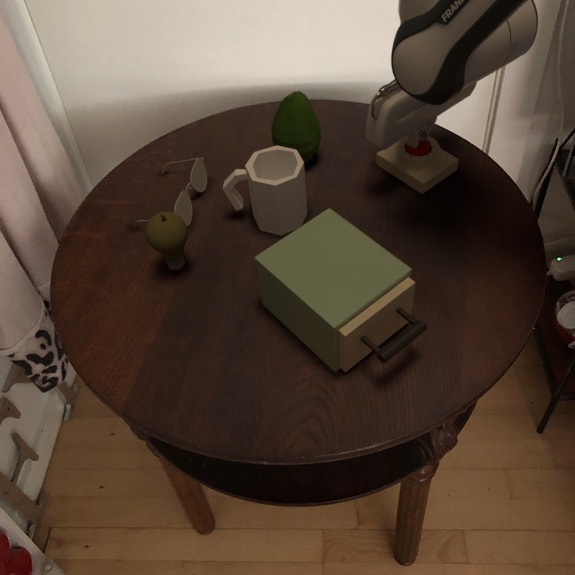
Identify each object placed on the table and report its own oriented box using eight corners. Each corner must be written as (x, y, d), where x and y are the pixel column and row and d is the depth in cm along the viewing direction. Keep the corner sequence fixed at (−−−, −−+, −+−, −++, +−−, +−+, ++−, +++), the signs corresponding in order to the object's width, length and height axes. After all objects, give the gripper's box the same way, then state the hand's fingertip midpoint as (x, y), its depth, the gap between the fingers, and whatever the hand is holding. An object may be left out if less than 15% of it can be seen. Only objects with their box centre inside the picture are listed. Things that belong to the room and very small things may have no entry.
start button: (434, 152, 97) (435, 143, 96) (418, 162, 96) (419, 153, 94) (416, 142, 99) (417, 132, 98) (401, 152, 98) (401, 143, 96)
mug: (307, 194, 97) (303, 143, 90) (307, 234, 92) (304, 184, 84) (231, 198, 98) (221, 148, 91) (227, 238, 93) (216, 188, 85)
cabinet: (406, 316, 81) (412, 268, 74) (335, 373, 77) (334, 328, 69) (330, 256, 89) (329, 207, 82) (262, 304, 84) (253, 257, 77)
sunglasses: (184, 236, 94) (172, 212, 90) (135, 236, 96) (122, 213, 93) (211, 175, 102) (201, 151, 98) (166, 177, 105) (154, 153, 101)
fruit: (323, 143, 105) (321, 80, 96) (320, 174, 100) (317, 111, 91) (277, 143, 106) (270, 80, 97) (271, 174, 101) (264, 111, 92)
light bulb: (205, 264, 90) (191, 215, 82) (175, 288, 87) (159, 239, 80) (179, 246, 92) (164, 196, 85) (150, 268, 90) (132, 219, 82)
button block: (457, 170, 98) (460, 149, 95) (422, 194, 96) (424, 174, 92) (410, 141, 104) (412, 122, 101) (375, 164, 101) (376, 144, 98)
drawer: (435, 340, 78) (443, 302, 72) (369, 395, 74) (372, 359, 68) (338, 263, 87) (338, 223, 81) (275, 307, 83) (269, 269, 77)
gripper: (390, 103, 80) (384, 184, 91) (493, 41, 87) (476, 123, 98) (355, 83, 83) (354, 164, 94) (458, 25, 90) (445, 106, 101)
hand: (417, 142), depth 96 cm, fingers closed, pressing on start button
